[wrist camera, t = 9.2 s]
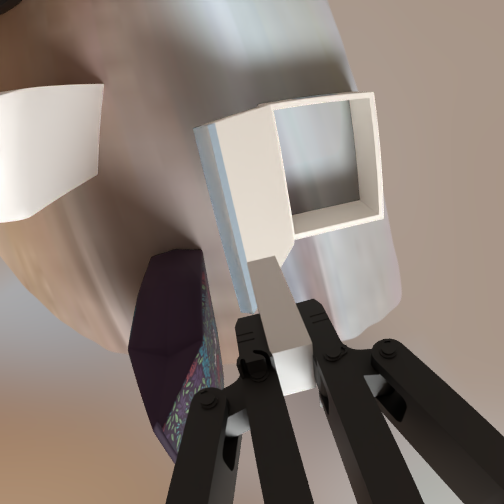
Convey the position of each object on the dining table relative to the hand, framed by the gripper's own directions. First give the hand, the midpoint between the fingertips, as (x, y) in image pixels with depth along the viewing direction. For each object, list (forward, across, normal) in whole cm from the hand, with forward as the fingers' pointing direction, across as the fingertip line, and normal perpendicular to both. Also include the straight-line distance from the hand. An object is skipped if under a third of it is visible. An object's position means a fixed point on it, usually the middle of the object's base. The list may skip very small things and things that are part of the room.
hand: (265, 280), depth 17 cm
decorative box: (+26, -11, -17) cm, 33 cm away
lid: (+14, +2, -1) cm, 14 cm away
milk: (+27, -20, +12) cm, 35 cm away
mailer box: (+26, +12, -1) cm, 29 cm away
